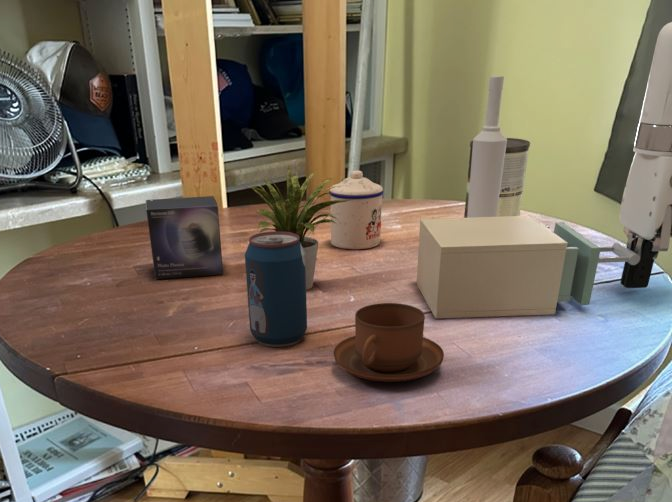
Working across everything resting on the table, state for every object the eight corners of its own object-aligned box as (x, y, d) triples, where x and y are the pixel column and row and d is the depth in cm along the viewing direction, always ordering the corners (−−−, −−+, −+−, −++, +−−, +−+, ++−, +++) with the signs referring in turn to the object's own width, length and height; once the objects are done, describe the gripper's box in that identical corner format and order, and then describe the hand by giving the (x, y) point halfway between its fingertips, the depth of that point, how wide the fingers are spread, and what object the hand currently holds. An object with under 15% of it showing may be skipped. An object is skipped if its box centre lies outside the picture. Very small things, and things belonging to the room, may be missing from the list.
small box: (154, 281, 106) (144, 208, 100) (154, 268, 111) (144, 199, 106) (224, 275, 108) (218, 203, 102) (220, 263, 113) (214, 194, 107)
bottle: (500, 247, 118) (522, 76, 104) (478, 252, 115) (497, 78, 102) (478, 241, 121) (496, 74, 108) (456, 246, 119) (471, 76, 105)
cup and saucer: (441, 395, 72) (446, 338, 68) (325, 388, 74) (325, 332, 70) (443, 349, 82) (448, 298, 78) (341, 344, 83) (341, 294, 80)
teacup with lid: (376, 251, 117) (378, 177, 111) (323, 249, 119) (322, 175, 113) (388, 234, 127) (391, 164, 120) (339, 231, 129) (340, 163, 122)
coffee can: (451, 224, 131) (458, 142, 124) (484, 215, 137) (492, 136, 129) (497, 234, 125) (507, 147, 117) (530, 223, 131) (541, 140, 123)
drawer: (603, 272, 102) (614, 220, 98) (644, 303, 91) (658, 245, 87) (456, 277, 101) (460, 225, 97) (478, 308, 90) (485, 251, 86)
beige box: (521, 280, 103) (531, 215, 98) (555, 314, 91) (567, 242, 86) (416, 283, 102) (420, 219, 97) (435, 318, 90) (441, 246, 85)
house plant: (292, 312, 93) (287, 181, 84) (223, 291, 101) (212, 169, 92) (360, 286, 102) (362, 164, 93) (291, 268, 110) (287, 155, 101)
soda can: (313, 329, 88) (310, 231, 81) (299, 351, 82) (296, 246, 76) (260, 326, 89) (253, 229, 83) (243, 346, 83) (235, 244, 77)
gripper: (731, 147, 80) (687, 303, 90) (669, 131, 93) (636, 269, 103) (667, 149, 80) (629, 305, 90) (613, 132, 93) (586, 271, 103)
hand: (633, 285), depth 96 cm, fingers closed
